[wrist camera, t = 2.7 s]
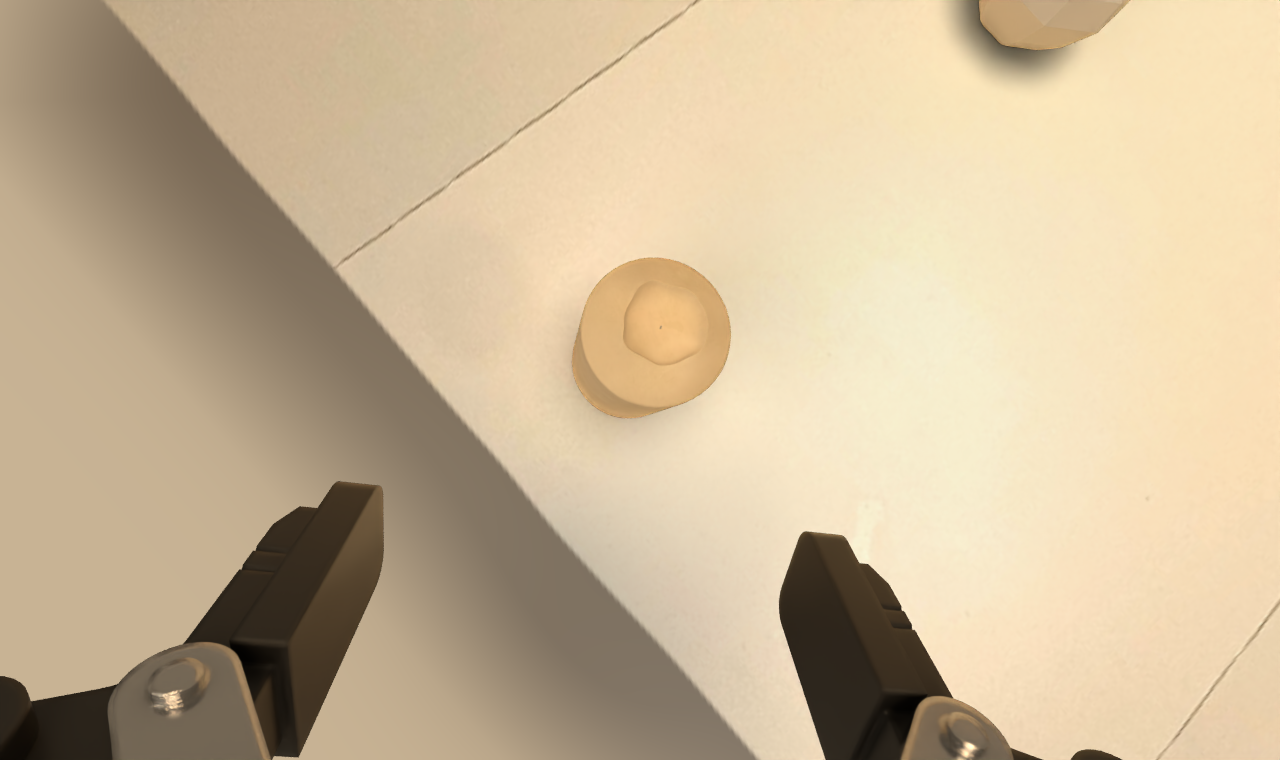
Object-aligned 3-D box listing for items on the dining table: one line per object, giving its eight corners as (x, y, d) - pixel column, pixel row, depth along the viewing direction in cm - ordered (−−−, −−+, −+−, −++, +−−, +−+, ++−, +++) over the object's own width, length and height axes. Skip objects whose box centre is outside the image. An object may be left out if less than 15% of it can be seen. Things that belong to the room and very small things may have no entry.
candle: (595, 435, 30) (618, 428, 20) (555, 330, 31) (559, 273, 21) (697, 395, 31) (766, 371, 21) (658, 294, 31) (708, 224, 22)
